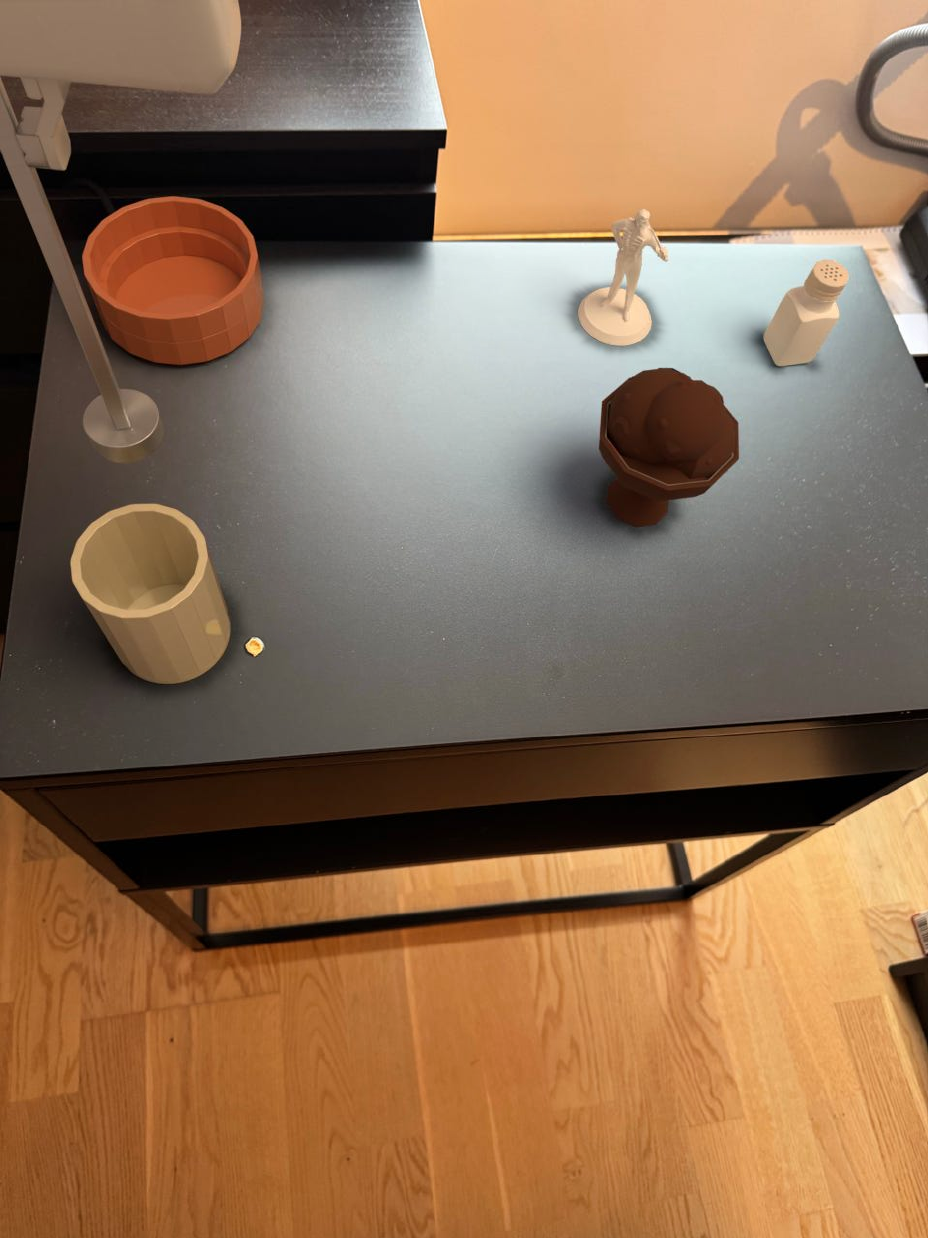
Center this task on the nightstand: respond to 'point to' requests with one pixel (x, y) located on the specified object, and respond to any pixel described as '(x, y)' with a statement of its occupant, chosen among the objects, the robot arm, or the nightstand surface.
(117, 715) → the nightstand surface
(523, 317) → the nightstand surface
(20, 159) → the metal stirring rod
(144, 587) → the crock
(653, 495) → the ice cream bowl
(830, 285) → the salt shaker
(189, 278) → the bowl
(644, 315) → the figurine
